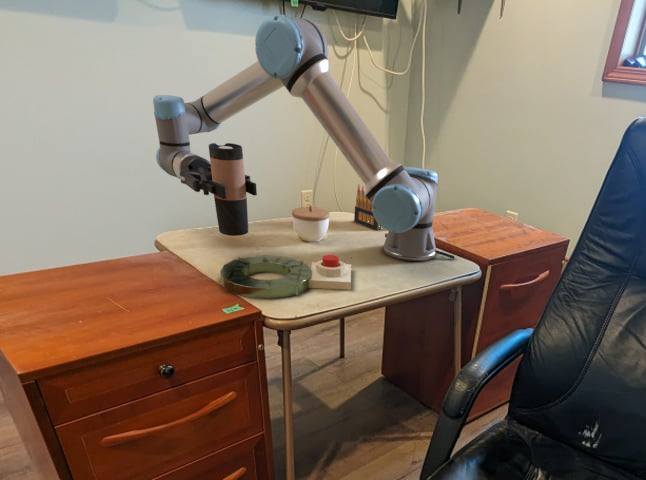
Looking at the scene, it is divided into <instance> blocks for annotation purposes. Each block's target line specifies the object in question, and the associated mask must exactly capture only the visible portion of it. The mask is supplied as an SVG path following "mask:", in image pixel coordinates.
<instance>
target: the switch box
mask: <svg viewBox="0 0 646 480" xmlns="http://www.w3.org/2000/svg"><path fill="white" fill-rule="evenodd" d="M310 265H311V266H310V269H311V270H312V274H311V279H309V288H308V289H325V290H327V289H328V290H344V291H345V290H347V291H350V290H351V288H352V287H351V286H352V283H351V282H352V263H351V264H348V263H345V262H343V261H341V260H339V266H338V267H334V268H331V267H325V266H323V259H319V260H318V261H316V262H314V261H312V262H311V264H310Z"/></svg>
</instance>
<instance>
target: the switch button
mask: <svg viewBox="0 0 646 480" xmlns="http://www.w3.org/2000/svg"><path fill="white" fill-rule="evenodd" d="M321 260H323V266H325V267H331V268H334V267H338V266H339V261H340V257H339V256H338V255H335V254H325V255H323V256H322V259H321Z"/></svg>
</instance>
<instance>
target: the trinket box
mask: <svg viewBox="0 0 646 480" xmlns="http://www.w3.org/2000/svg"><path fill="white" fill-rule="evenodd" d="M291 217H292V218H291V219H292V225H293V228H294V231H295V233H296V234H297V236H298V237H299V238H300V239H301V240H302V241H304V242H309V243H312V242H313V243H315V242H320V241H322V239H323V238H324V237H325V236H326V234H327V233H328V230H329V224H330V212H329V210H327V209H324V208H321V207H316V206H313V205H308V206H299V207H295V208H293V209H292V210H291Z"/></svg>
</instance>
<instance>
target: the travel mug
mask: <svg viewBox="0 0 646 480" xmlns="http://www.w3.org/2000/svg"><path fill="white" fill-rule="evenodd" d="M208 153H209V162H210V163H211V173H212V181H214V182H216V183H218V184H220V185H223V186H225V192H226V199H222V198H220V197H218V196H216V195H214V194H213V198H214V199H213V200H214V207H215V213H216V218H217V225H218V231H219V233H220V234H221V235H224V236H229V237H230V236H231V237H238V236H245V235H247V234H248V233H249V216H248V214H249V213H248V198H247V197H248V196H247V192H246V185H245V175H246V174H245V164H244V153H243V146H242V145H241V144H237V143H230V142H226V143H224V144H223V145H219V144H217V142H212V143H209V144H208Z"/></svg>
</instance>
